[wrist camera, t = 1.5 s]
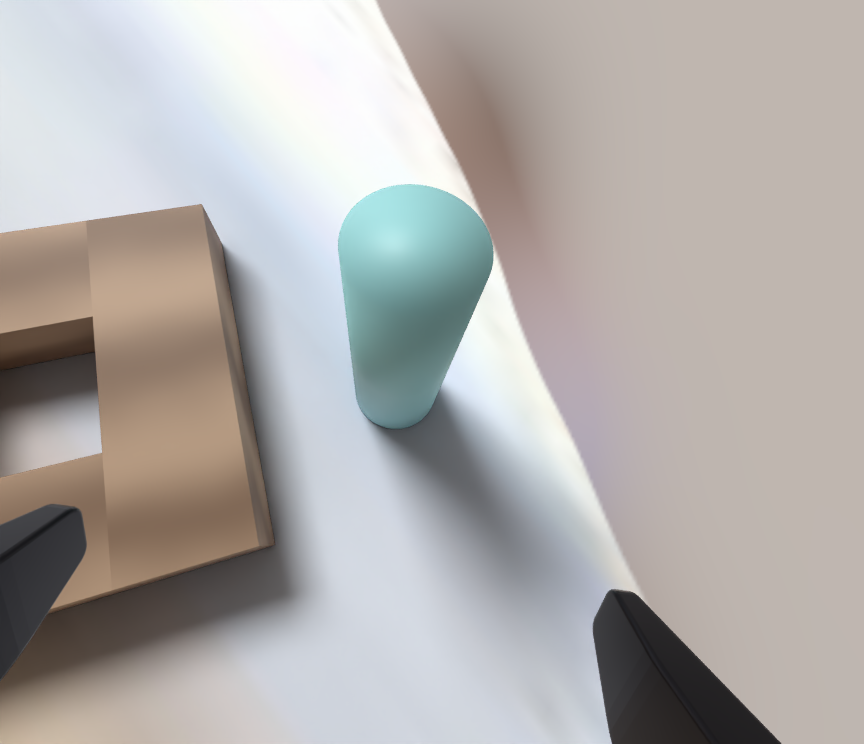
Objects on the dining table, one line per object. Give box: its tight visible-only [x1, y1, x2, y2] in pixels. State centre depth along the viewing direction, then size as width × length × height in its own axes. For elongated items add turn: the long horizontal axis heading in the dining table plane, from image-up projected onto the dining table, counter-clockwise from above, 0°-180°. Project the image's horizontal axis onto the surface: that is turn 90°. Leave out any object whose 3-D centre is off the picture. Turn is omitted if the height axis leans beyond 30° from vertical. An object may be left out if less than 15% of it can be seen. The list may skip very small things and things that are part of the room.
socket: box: [0, 204, 275, 614], centre depth 19 cm, size 16×16×3 cm
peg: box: [338, 184, 493, 429], centre depth 17 cm, size 4×4×12 cm
